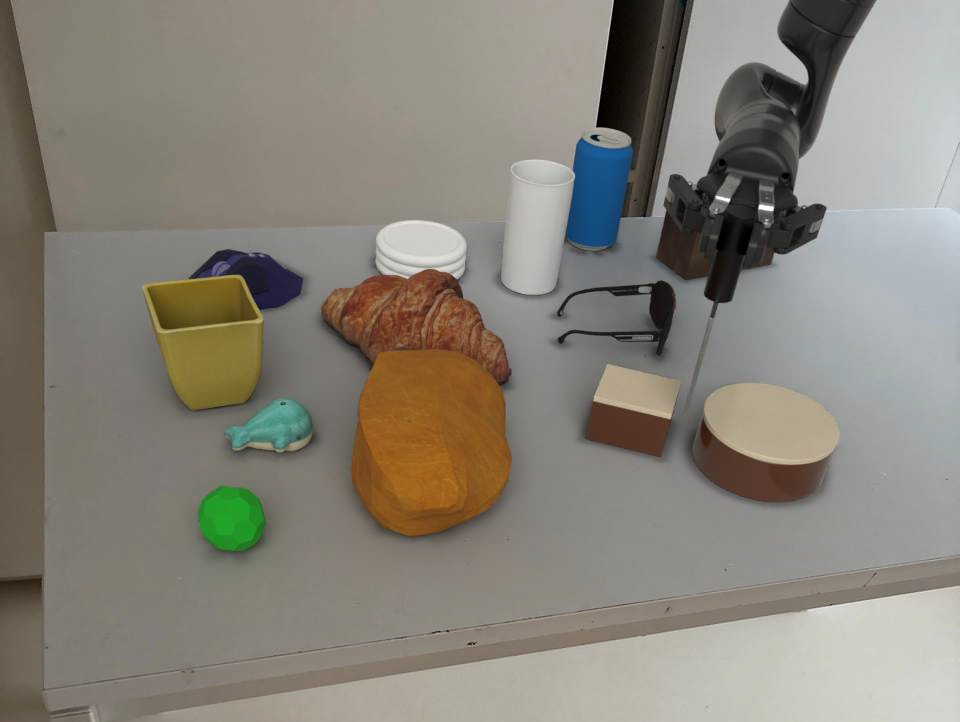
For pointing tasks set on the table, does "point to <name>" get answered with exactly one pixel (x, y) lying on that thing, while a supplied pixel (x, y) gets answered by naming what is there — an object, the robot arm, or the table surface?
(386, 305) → the pastry
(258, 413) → the whale figurine
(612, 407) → the cake slice
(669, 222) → the knife block
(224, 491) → the polyhedron
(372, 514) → the bread
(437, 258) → the coaster
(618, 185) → the beverage can
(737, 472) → the cake
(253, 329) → the flower pot
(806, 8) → the robot arm
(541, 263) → the mug
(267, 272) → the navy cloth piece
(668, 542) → the table surface
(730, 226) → the knife
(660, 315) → the sunglasses
